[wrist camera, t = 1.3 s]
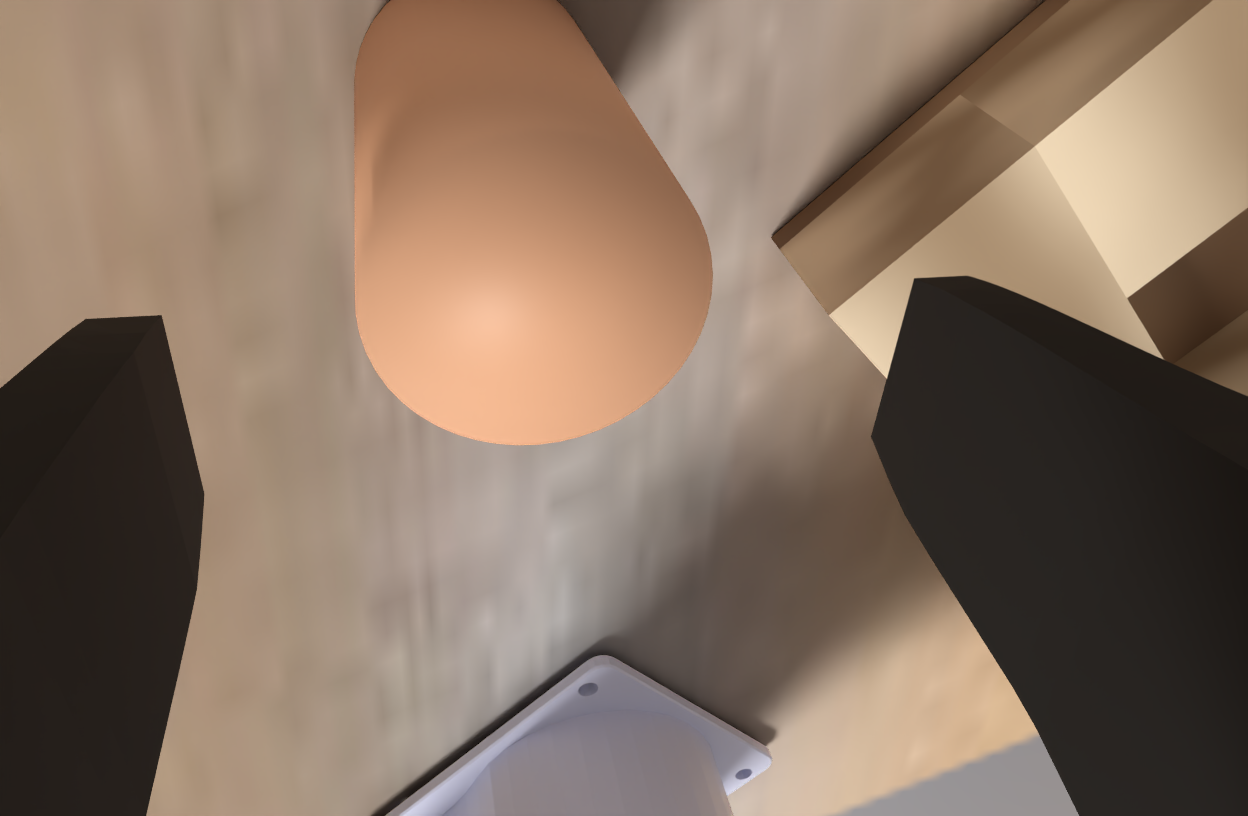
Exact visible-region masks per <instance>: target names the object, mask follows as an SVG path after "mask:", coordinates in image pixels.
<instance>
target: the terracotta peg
mask: <svg viewBox="0 0 1248 816" xmlns="http://www.w3.org/2000/svg"><path fill="white" fill-rule="evenodd" d="M354 126H355V309H356V318H357V323H358V328H359V334H360V337H361V339H362V342H363V345H364V348H365V351H366V353H367V355H368V357H369V359H370V361H371V363H372V365H373V367H374V369H375V370H376V372H377V373H378V375H379V376H380V377H381V379H382V380H383V382H384V383H385V384H386V386H387V387H388V388H389V389H390V390H391V391H392V392H393V393H394V394H395V395H396V396H397V397H398V398H399V399H400V400H401V402H403V403H404V404H405V405H406V406H408V407H409V408H410V409H411V410H413V411H414V412H415V413H417V414H418V415H419V416H421V417H423V418H424V419H426V420H428V421H430V422H431V423H433V424H435V425H436V426H439V427H441V428H443V429H445V430H448V431H450V432H452V433H455V434H458V435H461V436H464V437H468V438H471V439H474V440H479V441H484V442H490V443H495V444H507V445H538V444H546V443H553V442H560V441H564V440H568V439H572V438H576V437H580V436H583V435H586V434H589V433H592V432H594V431H597V430H600V429H602V428H604V427H606V426H608V425H611V424H613V423H615V422H617V421H619V420H620V419H622V418H624V417H625V416H627V415H629V414H630V413H632V412H634V411H635V410H637V409H638V408H640V407H641V406H642V405H643V404H645V403H646V402H647V401H649V400H650V399H651V398H653V397H654V396H655V395H656V394H657V393H658V392H659V391H660V390H661V389H662V388H663V387H664V386H665V385H666V384H668V382H669V381H670V380H671V379H672V378H673V376H674V375H675V374H676V373H677V372H678V371H679V369H680V368H681V367H682V365H683V364H684V362H685V361H686V359H687V358H688V356H689V355H690V353H691V352H692V350H693V348H694V346H695V344H696V342H697V340H698V338H699V336H700V334H701V331H702V328H703V326H704V323H705V320H706V317H707V314H708V309H709V304H710V300H711V295H712V279H713V271H712V259H711V252H710V248H709V243H708V239H707V235H706V232H705V230H704V227H703V225H702V222H701V220H700V217H699V215H698V213H697V212H696V210H695V208H694V206H693V205H692V203H691V201H690V200H689V198H688V196H687V195H686V193H685V192H684V190H683V189H682V187H681V185H680V184H679V182H678V181H677V179H676V178H675V176H674V175H673V173H672V172H671V170H670V168H669V167H668V165H667V164H666V162H665V161H664V159H663V158H662V156H661V154H660V153H659V151H658V150H657V148H656V147H655V145H654V144H653V142H652V140H651V139H650V137H649V136H648V134H647V133H646V131H645V130H644V128H643V127H642V125H641V123H640V122H639V120H638V119H637V117H636V116H635V114H634V113H633V111H632V109H631V108H630V106H629V105H628V103H627V102H626V100H625V99H624V97H623V96H622V94H621V92H620V91H619V89H618V88H617V86H616V85H615V83H614V82H613V80H612V78H611V77H610V75H609V74H608V72H607V71H606V69H605V68H604V66H603V64H602V63H601V61H600V60H599V58H598V57H597V55H596V54H595V52H594V51H593V49H592V47H591V46H590V44H589V43H588V41H587V40H586V38H585V37H584V35H583V33H582V32H581V30H580V29H579V27H578V26H577V24H576V23H575V21H574V20H573V18H572V17H571V16H570V15H569V13H568V12H567V11H566V10H565V8H564V7H563V6H562V5H561V4H560V3H559V2H558V1H557V0H390V1H389V2H388V3H387V4H386V5H385V6H384V7H383V9H382V10H381V11H380V12H379V14H378V15H377V16H376V17H375V19H374V21H373V22H372V24H371V26H370V27H369V29H368V31H367V32H366V35H365V37H364V40H363V42H362V45H361V47H360V50H359V54H358V58H357V62H356V69H355V78H354Z"/></svg>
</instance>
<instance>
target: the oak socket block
mask: <svg viewBox="0 0 1248 816" xmlns="http://www.w3.org/2000/svg"><path fill="white" fill-rule="evenodd" d="M771 238H772V240H773V241H774V242H775V244H776V245H777V246H778V248H779V249H780V250H781V252H782V253H783V254H784V256H785V257H786V258H787V260H788V261H789V262H790V264H791V265H792V267H793V268H794V269H795V271H796V272H797V273H798V275H799V276H800V277H801V279H802V280H803V281H804V283H805V284H806V285H807V287H808V288H809V289H810V291H811V292H812V293H813V295H814V296H815V297H816V299H817V300H818V301H819V303H820V304H821V305H822V307H823V308H824V309H825V311H826V312H827V313H828V315H829V316H830V317H831V318H832V319H833V320H834V321H835V323H836V324H837V325H838V326H839V327H840V328H841V329H842V330H843V331H844V332H845V334H846V335H847V336H848V337H849V338H850V339H851V340H852V341H853V342H854V343H855V344H856V346H857V347H858V348H859V349H860V350H861V351H862V352H863V353H864V354H865V355H866V357H867V358H868V359H869V360H870V361H871V362H872V363H873V364H874V365H875V366H876V367H877V369H878V370H879V371H880V372H881V373H882V374H883V375H884V376H885V377H886V378H887V376H888V373H889V369H890V365H891V362H892V358H893V354H894V351H895V347H896V343H897V340H898V336H899V332H900V329H901V325H902V321H903V317H904V314H905V310H906V306H907V303H908V299H909V295H910V292H911V288H912V284H913V281H914V278H929V277H949V276H971V277H974V278H977V279H981V280H984V281H987V282H990V283H992V284H995V285H998V286H1001V287H1003V288H1006V289H1008V290H1011V291H1013V292H1016V293H1018V294H1021V295H1023V296H1025V297H1028V298H1030V299H1032V300H1035V301H1037V302H1039V303H1042V304H1044V305H1046V306H1048V307H1050V308H1053V309H1055V310H1057V311H1059V312H1062V313H1064V314H1066V315H1068V316H1070V317H1072V318H1075V319H1077V320H1079V321H1081V322H1083V323H1085V324H1088V325H1090V326H1092V327H1094V328H1096V329H1098V330H1101V331H1103V332H1105V333H1107V334H1109V335H1111V336H1113V337H1116V338H1118V339H1120V340H1122V341H1124V342H1126V343H1129V344H1131V345H1133V346H1135V347H1137V348H1139V349H1142V350H1144V351H1146V352H1148V353H1150V354H1152V355H1155V356H1157V357H1159V358H1161V359H1163V360H1166V361H1168V362H1170V363H1172V364H1174V365H1177V366H1179V367H1181V368H1183V369H1186V370H1188V371H1190V372H1192V373H1195V374H1197V375H1199V376H1201V377H1204V378H1206V379H1208V380H1211V381H1213V382H1215V383H1217V384H1220V385H1222V386H1224V387H1227V388H1229V389H1232V390H1234V391H1236V392H1239V393H1241V394H1244V395H1246V396H1248V0H1046V1H1044V2H1043V3H1042V4H1041V5H1040V6H1039V7H1037V8H1036V9H1035V10H1034V11H1033V12H1032V13H1031V14H1029V15H1028V16H1027V17H1026V18H1025V19H1024V20H1022V21H1021V22H1020V23H1019V24H1018V25H1017V26H1015V27H1014V28H1013V29H1012V30H1011V31H1010V32H1009V33H1007V34H1006V35H1005V36H1004V37H1003V38H1002V39H1000V40H999V41H998V42H997V43H996V44H995V45H993V46H992V47H991V48H990V49H989V50H988V51H987V52H985V53H984V54H983V55H982V56H981V57H980V58H978V59H977V60H976V61H975V62H974V63H973V64H971V65H970V66H969V67H968V68H967V69H966V70H965V71H963V72H962V73H961V74H960V75H959V76H958V77H956V78H955V79H954V80H953V81H952V82H951V83H949V84H948V85H947V86H946V87H945V88H944V89H942V90H941V91H940V92H939V93H938V94H937V95H936V96H934V97H933V98H932V99H931V100H930V101H929V102H927V103H926V104H925V105H924V106H923V107H922V108H920V109H919V110H918V111H917V112H916V113H915V114H914V115H912V116H911V117H910V118H909V119H908V120H907V121H905V122H904V123H903V124H902V125H901V126H900V127H898V128H897V129H896V130H895V131H894V132H893V133H892V134H890V135H889V136H888V137H887V138H886V139H885V140H883V141H882V142H881V143H880V144H879V145H878V146H876V147H875V148H874V149H873V150H872V151H871V152H870V153H868V154H867V155H866V156H865V157H864V158H863V159H861V160H860V161H859V162H858V163H857V164H856V165H854V166H853V167H852V168H851V169H850V170H849V171H848V172H846V173H845V174H844V175H843V176H842V177H841V178H839V179H838V180H837V181H836V182H835V183H834V184H832V185H831V186H830V187H829V188H828V189H827V190H825V191H824V192H823V193H822V194H821V195H820V196H819V197H817V198H816V199H815V200H814V201H813V202H812V203H810V204H809V205H808V206H807V207H806V208H805V209H803V210H802V211H801V212H800V213H799V214H798V215H797V216H795V217H794V218H793V219H792V220H791V221H790V222H788V223H787V224H786V225H785V226H784V227H783V228H781V229H780V230H779V231H778V232H777V233H776V234H775V235H773V236H772V237H771Z"/></svg>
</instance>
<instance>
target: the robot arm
mask: <svg viewBox="0 0 1248 816" xmlns="http://www.w3.org/2000/svg"><path fill="white" fill-rule="evenodd" d="M871 437H872V440H873V442H874V445H875V447H876V450H877V452H878V454H879V457H880V459H881V462H882V464H883V467H884V469H885V472H886V474H887V477H888V479H889V481H890V483H891V486H892V488H893V490H894V492H895V494H896V496H897V499H898V501H899V503H900V505H901V507H902V509H903V512H904V514H905V516H906V517H907V519H908V521H909V522H910V524H911V526H912V527H913V529H914V531H915V533H916V534H917V536H918V537H919V539H920V541H921V542H922V544H923V546H924V547H925V549H926V550H927V552H928V554H929V555H930V557H931V558H932V560H933V562H934V563H935V565H936V567H937V568H938V570H939V571H940V573H941V575H942V576H943V578H944V579H945V581H946V583H947V584H948V586H949V587H950V589H951V590H952V592H953V594H954V595H955V597H956V598H957V600H958V602H959V603H960V605H961V606H962V608H963V609H964V611H965V613H966V614H967V616H968V617H969V619H970V620H971V622H972V624H973V625H974V627H975V628H976V630H977V631H978V633H979V635H980V636H981V638H982V639H983V641H984V643H985V644H986V646H987V647H988V649H989V650H990V652H991V654H992V655H993V657H994V658H995V660H996V661H997V663H998V665H999V666H1000V668H1001V669H1002V671H1003V673H1004V674H1005V676H1006V677H1007V679H1008V680H1009V682H1010V684H1011V685H1012V687H1013V688H1014V690H1015V692H1016V694H1017V695H1018V697H1019V699H1020V701H1021V702H1022V704H1023V706H1024V708H1025V709H1026V711H1027V713H1028V715H1029V716H1030V718H1031V720H1032V722H1033V723H1034V725H1035V727H1036V729H1037V731H1038V733H1039V735H1040V737H1041V739H1042V741H1043V743H1044V745H1045V747H1046V749H1047V751H1048V753H1049V755H1050V757H1051V759H1052V761H1053V763H1054V765H1055V767H1056V769H1057V771H1058V773H1059V775H1060V777H1061V779H1062V782H1063V783H1064V785H1065V788H1066V790H1067V792H1068V794H1069V796H1070V798H1071V800H1072V802H1073V804H1074V806H1075V808H1076V810H1077V812H1078V814H1079V816H1248V396H1246V395H1244V394H1241V393H1239V392H1236V391H1234V390H1232V389H1229V388H1227V387H1224V386H1222V385H1220V384H1217V383H1215V382H1213V381H1211V380H1208V379H1206V378H1204V377H1201V376H1199V375H1197V374H1195V373H1192V372H1190V371H1188V370H1186V369H1183V368H1181V367H1179V366H1177V365H1174V364H1172V363H1170V362H1168V361H1166V360H1163V359H1161V358H1159V357H1157V356H1155V355H1152V354H1150V353H1148V352H1146V351H1144V350H1142V349H1139V348H1137V347H1135V346H1133V345H1131V344H1129V343H1126V342H1124V341H1122V340H1120V339H1118V338H1116V337H1113V336H1111V335H1109V334H1107V333H1105V332H1103V331H1101V330H1098V329H1096V328H1094V327H1092V326H1090V325H1088V324H1085V323H1083V322H1081V321H1079V320H1077V319H1075V318H1072V317H1070V316H1068V315H1066V314H1064V313H1062V312H1059V311H1057V310H1055V309H1053V308H1050V307H1048V306H1046V305H1044V304H1042V303H1039V302H1037V301H1035V300H1032V299H1030V298H1028V297H1025V296H1023V295H1021V294H1018V293H1016V292H1013V291H1011V290H1008V289H1006V288H1003V287H1001V286H998V285H995V284H992V283H990V282H987V281H984V280H981V279H977V278H974V277H971V276H949V277H929V278H914V281H913V284H912V288H911V292H910V295H909V299H908V303H907V306H906V310H905V314H904V317H903V321H902V325H901V329H900V332H899V336H898V340H897V343H896V347H895V351H894V354H893V358H892V362H891V365H890V369H889V373H888V376H887V380H886V384H885V387H884V391H883V395H882V399H881V402H880V406H879V410H878V413H877V417H876V421H875V424H874V428H873V432H872V435H871ZM203 506H204V491H203V486H202V482H201V478H200V474H199V470H198V466H197V461H196V457H195V453H194V449H193V445H192V441H191V436H190V432H189V428H188V424H187V420H186V415H185V411H184V407H183V403H182V399H181V395H180V390H179V386H178V382H177V378H176V374H175V370H174V365H173V361H172V357H171V353H170V349H169V344H168V340H167V336H166V332H165V328H164V324H163V319H162V315H158V316H138V317H118V318H97V319H85V320H84V321H82V322H81V323H80V324H78V325H77V326H75V327H74V328H72V329H71V330H70V331H69V332H67V333H66V334H65V335H63V336H62V337H61V338H60V339H59V340H57V341H56V342H55V343H54V344H52V345H51V346H50V347H49V348H48V349H46V350H45V351H44V352H43V353H42V354H40V355H39V356H38V357H37V358H36V359H34V360H33V361H32V362H31V363H30V364H29V365H27V366H26V367H25V368H24V369H23V370H21V371H20V372H19V373H18V374H17V375H16V376H14V377H13V378H12V379H11V380H10V381H8V382H7V383H6V384H5V385H4V386H3V387H1V388H0V816H146V813H147V809H148V805H149V800H150V796H151V791H152V787H153V783H154V778H155V774H156V769H157V765H158V761H159V756H160V752H161V748H162V743H163V739H164V734H165V730H166V726H167V721H168V717H169V712H170V708H171V704H172V699H173V695H174V691H175V686H176V682H177V677H178V673H179V669H180V664H181V660H182V655H183V651H184V646H185V641H186V637H187V632H188V628H189V623H190V619H191V614H192V610H193V605H194V600H195V595H196V591H197V581H198V570H199V559H200V548H201V535H202V520H203ZM586 683H587V684H586ZM771 762H772V757H771V754H770V752H769V749H768V748H767V747H766V746H765V745H763V744H761V743H759V742H758V741H756V740H754V739H753V738H751V737H749V736H748V735H746V734H744V733H742V732H741V731H739V730H737V729H736V728H734V727H732V726H730V725H729V724H727V723H725V722H724V721H722V720H720V719H718V718H717V717H715V716H713V715H712V714H710V713H708V712H706V711H705V710H703V709H701V708H700V707H698V706H696V705H695V704H693V703H691V702H689V701H688V700H686V699H684V698H683V697H681V696H679V695H677V694H676V693H674V692H672V691H671V690H669V689H667V688H665V687H664V686H662V685H660V684H659V683H657V682H655V681H653V680H652V679H650V678H648V677H647V676H645V675H643V674H642V673H640V672H638V671H636V670H635V669H633V668H631V667H630V666H628V665H626V664H624V663H623V662H621V661H619V660H618V659H616V658H614V657H611V656H608V655H599V656H595V657H592V658H591V659H589V660H587V661H586V662H585V663H583V664H582V665H581V666H580V667H578V668H577V669H576V670H574V671H573V672H572V673H570V674H569V675H568V676H566V677H565V678H564V679H563V680H561V681H560V682H559V683H557V684H556V685H555V686H553V687H552V688H551V689H550V690H548V691H547V692H546V693H544V694H543V695H542V696H540V697H539V698H538V699H537V700H535V701H534V702H533V703H531V704H530V705H529V706H527V707H526V708H525V709H523V710H522V711H521V712H520V713H518V714H517V715H516V716H514V717H513V718H512V719H510V720H509V721H508V722H507V723H505V724H504V725H503V726H501V727H500V728H499V729H497V730H496V731H495V732H493V733H492V734H491V735H490V736H488V737H487V738H486V739H484V740H483V741H482V742H480V743H479V744H478V745H477V746H475V747H474V748H473V749H471V750H470V751H469V752H467V753H466V754H465V755H463V756H462V757H461V758H460V759H458V760H457V761H456V762H454V763H453V764H452V765H450V766H449V767H448V768H447V769H445V770H444V771H443V772H441V773H440V774H439V775H437V776H436V777H435V778H433V779H432V780H431V781H430V782H428V783H427V784H426V785H424V786H423V787H422V788H420V789H419V790H418V791H417V792H415V793H414V794H413V795H411V796H410V797H409V798H407V799H406V800H405V801H404V802H402V803H401V804H400V805H398V806H397V807H396V808H394V809H393V810H392V811H390V812H389V813H388V814H387V815H385V816H733V813H732V810H731V807H730V804H729V801H728V798H727V796H728V795H729V794H731V793H732V792H734V791H735V790H737V789H738V788H740V787H741V786H743V785H744V784H746V783H747V782H748V781H750V780H751V779H753V778H754V777H756V776H757V775H759V774H760V773H762V772H763V771H765V770H766V769H767V768H768V767H769V766H770V764H771Z"/></svg>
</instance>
